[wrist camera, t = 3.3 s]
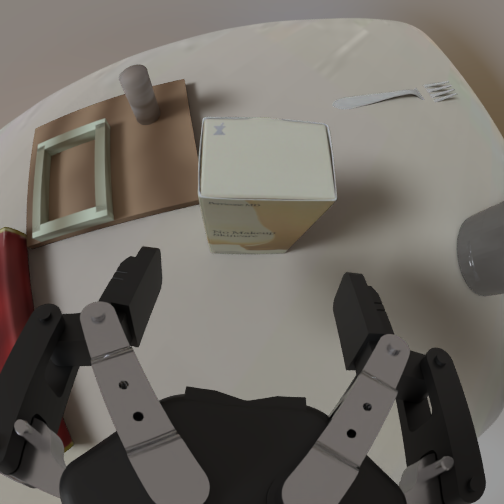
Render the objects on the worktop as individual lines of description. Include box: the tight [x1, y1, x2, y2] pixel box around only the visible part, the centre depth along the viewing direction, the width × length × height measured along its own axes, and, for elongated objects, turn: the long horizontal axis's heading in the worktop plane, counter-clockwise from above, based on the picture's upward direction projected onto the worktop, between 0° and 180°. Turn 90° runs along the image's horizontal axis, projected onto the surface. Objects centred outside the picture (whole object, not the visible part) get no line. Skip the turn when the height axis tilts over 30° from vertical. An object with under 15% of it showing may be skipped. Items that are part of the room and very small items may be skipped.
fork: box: [333, 81, 457, 109], centre depth 28 cm, size 3×24×2 cm, turn 112°
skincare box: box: [198, 117, 337, 254], centre depth 18 cm, size 6×4×12 cm
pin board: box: [26, 65, 200, 249], centre depth 21 cm, size 18×14×7 cm
